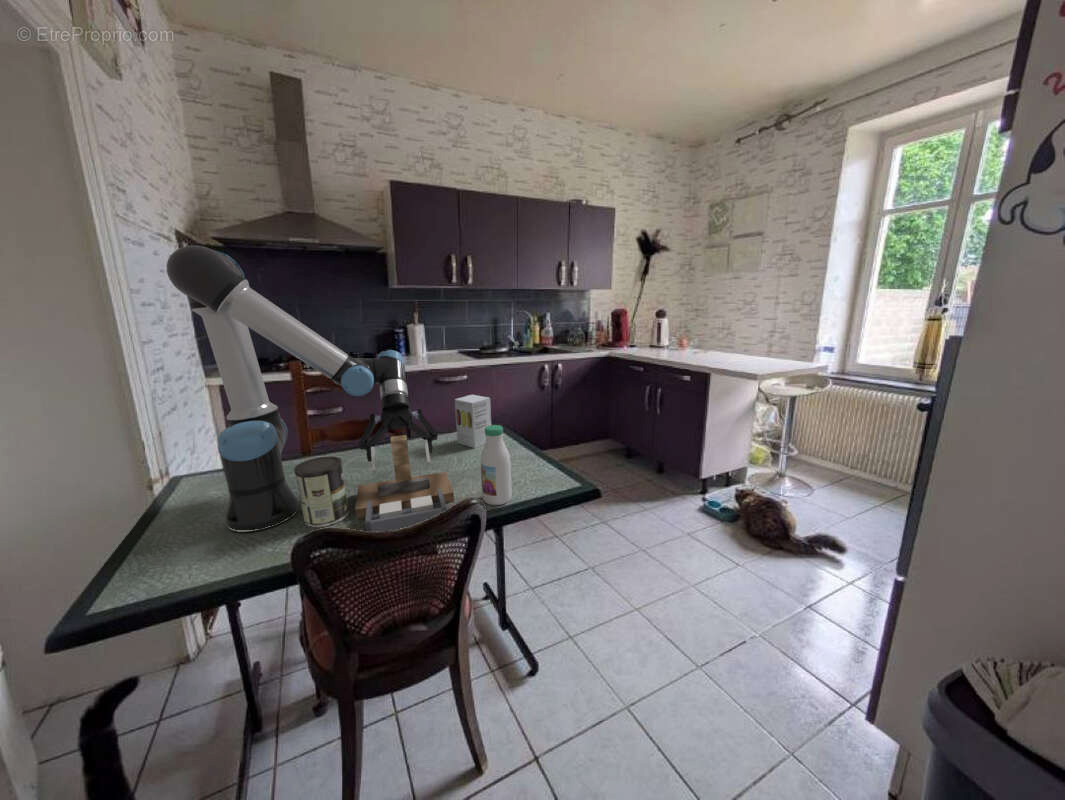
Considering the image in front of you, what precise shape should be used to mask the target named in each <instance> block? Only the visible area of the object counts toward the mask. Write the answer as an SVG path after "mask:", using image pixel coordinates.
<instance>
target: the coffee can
mask: <svg viewBox="0 0 1065 800" xmlns="http://www.w3.org/2000/svg"><path fill="white" fill-rule="evenodd" d="M342 460H343V459H342V458H340V457H338V456H320V457H316V458H311V459H307V460H304V461H302V462H300V463H298V464H297V465H296V466H294V468H293V472H294V474H295V479H296V483H297V484H296V485H297V489H298V494H299V495H298V496H299V500H300V505H301V511H302V516H303V520H304V521H303V522H305V523H304V525H305V524H306V525H305V526H307V525H308V526H307V527H309V526H312V527H311V528H325V527H329V526H332V525H331V524H333V525H335V524H338V523H340V522H341V521H343V520H345V518H347V517H348V516H349V514H350V509H349V503H348V497H347V490H346V484H345V477H344V470H343V465H342V463H343V461H342ZM315 526H319V527H315Z"/></svg>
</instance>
